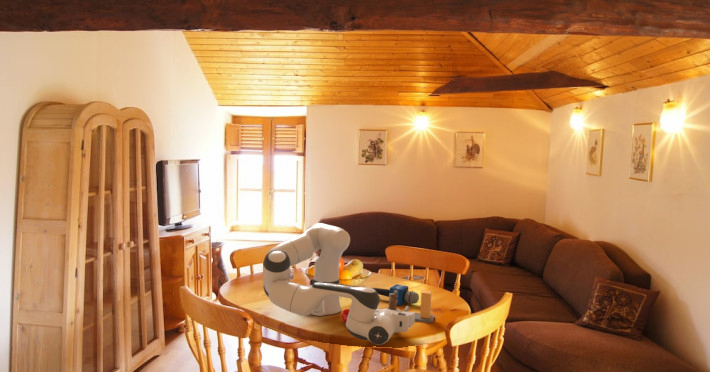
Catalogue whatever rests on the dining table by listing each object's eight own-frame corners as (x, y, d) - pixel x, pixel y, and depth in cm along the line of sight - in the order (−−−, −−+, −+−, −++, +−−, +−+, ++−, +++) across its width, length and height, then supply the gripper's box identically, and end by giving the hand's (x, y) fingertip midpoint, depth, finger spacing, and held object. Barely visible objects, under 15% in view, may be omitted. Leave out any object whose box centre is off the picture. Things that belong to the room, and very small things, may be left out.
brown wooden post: (387, 328, 206) (388, 294, 205) (388, 325, 209) (390, 292, 208) (394, 329, 205) (395, 295, 204) (395, 326, 208) (397, 293, 207)
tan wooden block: (420, 317, 219) (421, 292, 218) (421, 314, 223) (422, 290, 222) (429, 318, 218) (430, 293, 217) (430, 315, 222) (431, 291, 221)
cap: (339, 318, 208) (352, 312, 207) (338, 309, 214) (351, 303, 213) (349, 331, 211) (361, 325, 210) (348, 322, 217) (360, 315, 216)
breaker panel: (402, 319, 219) (402, 310, 218) (405, 313, 226) (405, 305, 226) (432, 323, 216) (432, 313, 215) (434, 317, 223) (434, 308, 223)
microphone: (374, 280, 253) (421, 288, 241) (374, 295, 253) (420, 304, 241) (367, 283, 246) (415, 292, 234) (367, 299, 246) (414, 308, 235)
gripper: (359, 325, 197) (367, 314, 210) (411, 332, 191) (416, 320, 205) (360, 310, 196) (368, 300, 209) (412, 316, 191) (417, 305, 204)
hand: (392, 310), depth 207 cm, fingers closed on brown wooden post, 3 cm apart
